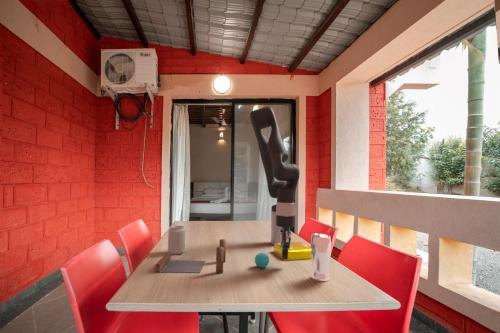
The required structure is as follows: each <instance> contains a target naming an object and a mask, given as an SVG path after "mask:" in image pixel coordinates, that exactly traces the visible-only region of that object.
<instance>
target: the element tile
mask: <svg viewBox="0 0 500 333" xmlns="http://www.w3.org/2000/svg"><path fill="white" fill-rule="evenodd" d="M281 246H282V245H281V243H275V244H274V245H273V253H274V254H276V256H278V257H279V258H281V259H282V260H284V261H297V260H300V261H301V260H312V256H311V245H310V246H309V245H308V244H306V243H304V242H302V241H298V242H296V241H294V242H291V241H290V248H289V249H288V259H283V258H282V247H281Z"/></svg>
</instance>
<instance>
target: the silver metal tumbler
mask: <svg viewBox="0 0 500 333" xmlns="http://www.w3.org/2000/svg"><path fill="white" fill-rule="evenodd" d="M310 237H311V238H310V247H311V256H312V259H311V261H312V272H311V279H312V280H315V281H316V282H328V281H330V274H329V265H330V260H331V256H332V255H331V253H332V241H331V235H330V234H327V233H312V234H311V236H310Z"/></svg>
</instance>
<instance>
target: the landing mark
mask: <svg viewBox="0 0 500 333" xmlns="http://www.w3.org/2000/svg"><path fill="white" fill-rule="evenodd" d="M205 263H206V260H187V259H186V260H181V259H179V260H178V259H174V260H173V259H172V260H171V259H170V262H169V263H168V264H167V265H166V266H165V267H164V268H163V270H162V271H161V272H160V273H164V274H165V273H166V274H167V273H169V274H171V273H172V274H173V273H175V274H178V273H180V274H200V273H201V272H202V269H203V267H204V266H205Z"/></svg>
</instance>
